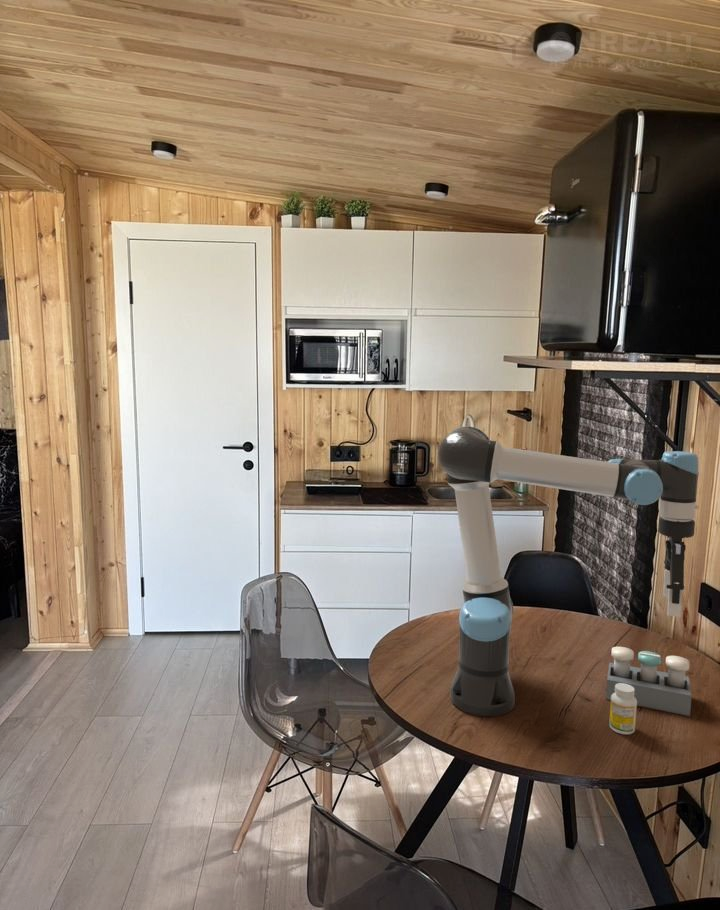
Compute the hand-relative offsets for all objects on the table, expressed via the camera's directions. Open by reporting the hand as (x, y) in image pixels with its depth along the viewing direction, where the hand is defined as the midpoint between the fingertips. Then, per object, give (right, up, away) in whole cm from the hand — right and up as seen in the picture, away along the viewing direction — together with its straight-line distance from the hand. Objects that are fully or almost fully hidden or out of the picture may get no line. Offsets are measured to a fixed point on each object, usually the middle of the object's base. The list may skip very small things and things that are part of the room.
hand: (671, 606), depth 150 cm
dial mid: (-4, -19, +3) cm, 19 cm away
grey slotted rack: (-4, -23, +3) cm, 24 cm away
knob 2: (+1, -19, 0) cm, 19 cm away
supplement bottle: (-16, -25, -10) cm, 31 cm away
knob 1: (-10, -18, +5) cm, 21 cm away
